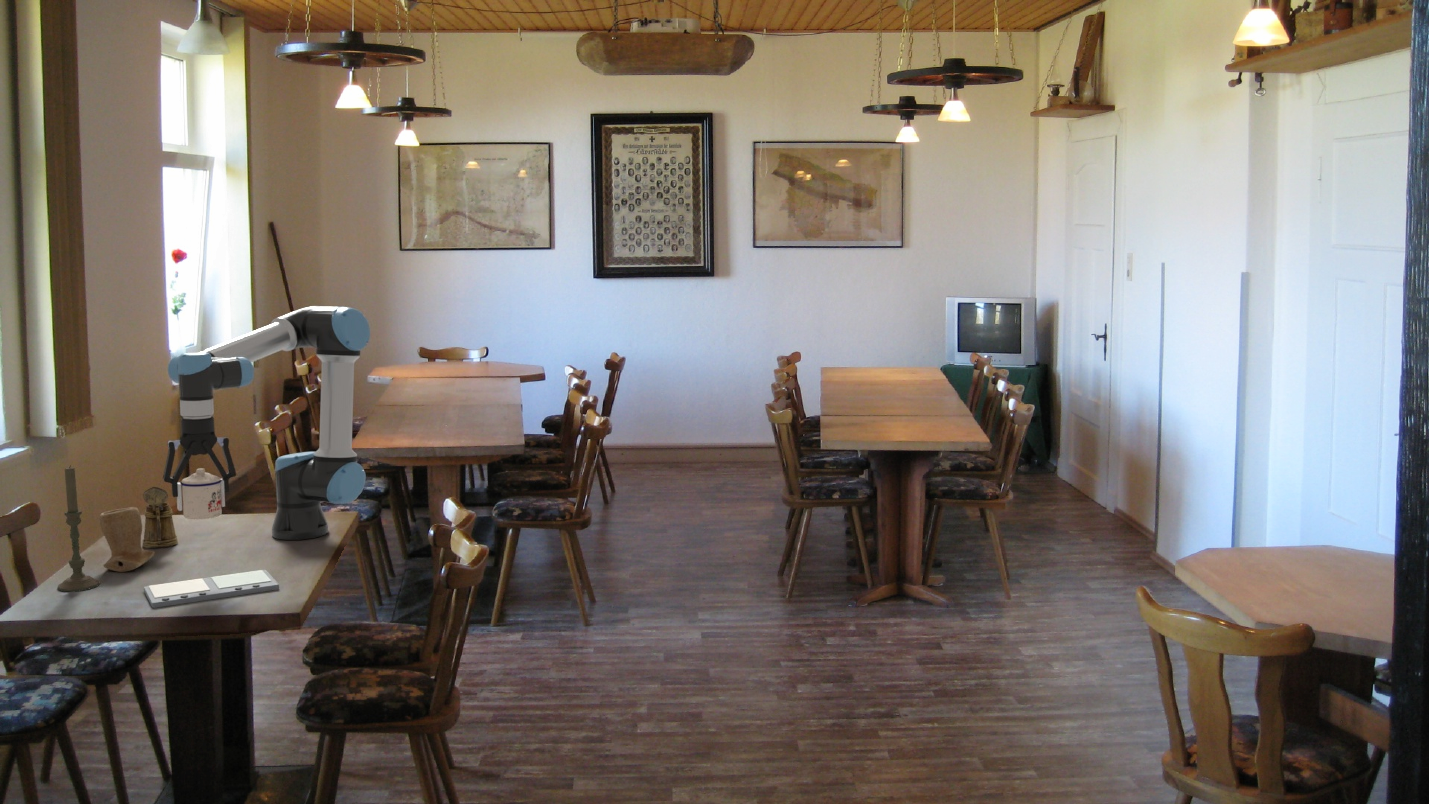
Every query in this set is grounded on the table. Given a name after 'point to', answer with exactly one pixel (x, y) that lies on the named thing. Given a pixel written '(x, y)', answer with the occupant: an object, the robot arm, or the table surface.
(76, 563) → the candlestick holder
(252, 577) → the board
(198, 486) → the teacup with lid
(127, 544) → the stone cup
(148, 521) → the wooden mug
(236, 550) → the table surface
